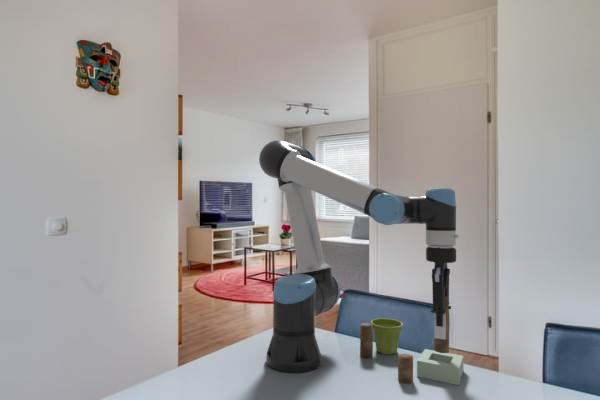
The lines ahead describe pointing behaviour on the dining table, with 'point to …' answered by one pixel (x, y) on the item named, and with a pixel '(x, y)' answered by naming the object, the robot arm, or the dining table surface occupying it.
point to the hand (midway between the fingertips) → (441, 335)
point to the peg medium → (366, 340)
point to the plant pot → (386, 334)
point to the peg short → (405, 368)
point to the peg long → (442, 344)
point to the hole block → (440, 366)
